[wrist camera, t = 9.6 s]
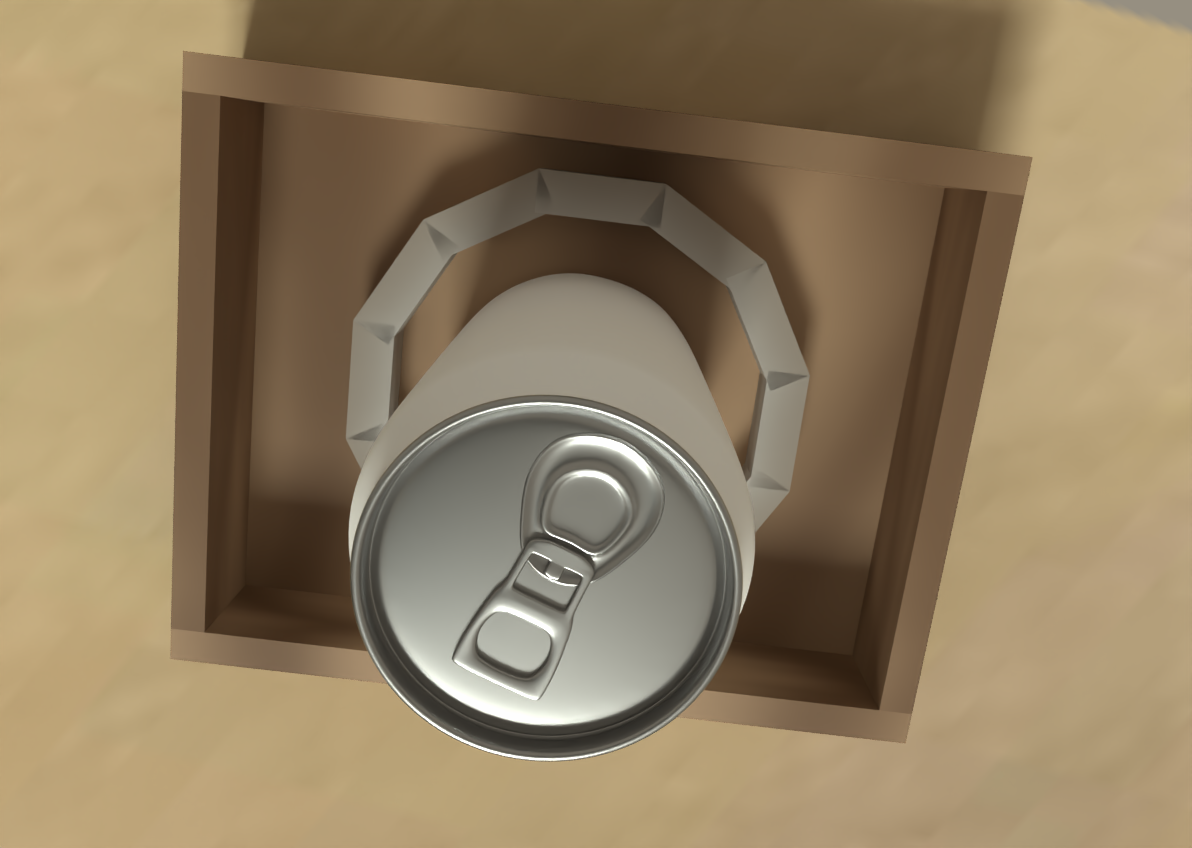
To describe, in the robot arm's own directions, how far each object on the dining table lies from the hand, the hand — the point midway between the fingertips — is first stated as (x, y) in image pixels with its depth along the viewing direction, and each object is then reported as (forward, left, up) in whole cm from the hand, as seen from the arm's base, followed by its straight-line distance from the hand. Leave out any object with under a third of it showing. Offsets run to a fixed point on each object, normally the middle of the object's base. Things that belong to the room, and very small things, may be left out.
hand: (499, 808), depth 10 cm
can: (0, 0, -18) cm, 18 cm away
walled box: (0, 0, -18) cm, 18 cm away
